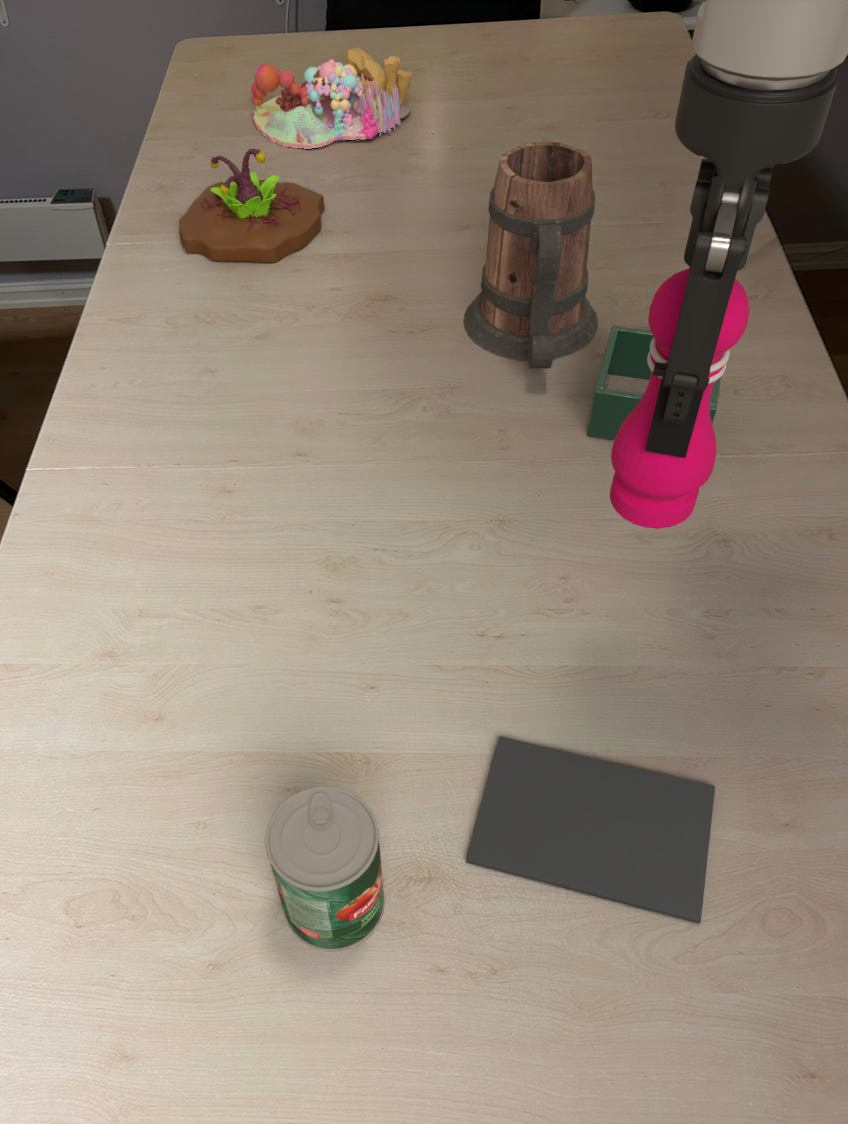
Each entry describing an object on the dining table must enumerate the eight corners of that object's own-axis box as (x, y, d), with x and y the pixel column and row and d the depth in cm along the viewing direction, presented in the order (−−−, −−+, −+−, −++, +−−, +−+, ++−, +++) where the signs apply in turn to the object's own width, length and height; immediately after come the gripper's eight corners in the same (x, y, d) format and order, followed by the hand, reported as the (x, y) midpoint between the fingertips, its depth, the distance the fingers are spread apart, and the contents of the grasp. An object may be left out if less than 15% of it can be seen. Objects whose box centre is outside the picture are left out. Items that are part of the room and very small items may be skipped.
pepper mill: (671, 459, 76) (736, 212, 60) (719, 520, 71) (802, 271, 56) (586, 480, 74) (630, 234, 59) (629, 544, 70) (689, 296, 55)
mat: (713, 789, 79) (715, 785, 79) (699, 924, 72) (701, 921, 72) (498, 739, 83) (499, 735, 83) (465, 862, 76) (465, 859, 76)
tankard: (462, 284, 128) (466, 128, 112) (591, 281, 127) (614, 123, 111) (465, 395, 113) (472, 233, 97) (611, 393, 112) (641, 229, 96)
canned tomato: (389, 946, 73) (383, 884, 64) (285, 956, 72) (265, 896, 64) (380, 850, 78) (374, 780, 69) (282, 859, 77) (264, 791, 69)
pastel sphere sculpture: (343, 74, 171) (339, 16, 164) (437, 113, 160) (437, 52, 153) (231, 122, 161) (222, 62, 154) (323, 167, 150) (318, 105, 143)
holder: (713, 384, 112) (726, 340, 107) (703, 454, 105) (716, 409, 100) (604, 369, 115) (612, 325, 110) (587, 436, 108) (594, 391, 103)
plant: (291, 273, 131) (281, 192, 123) (163, 254, 136) (144, 175, 127) (341, 201, 143) (335, 122, 134) (221, 186, 148) (208, 110, 139)
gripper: (709, -11, 55) (638, 341, 73) (663, 131, 45) (593, 501, 63) (848, -1, 53) (740, 356, 72) (835, 149, 43) (712, 523, 61)
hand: (672, 423), depth 67 cm, fingers closed on pepper mill, 5 cm apart
